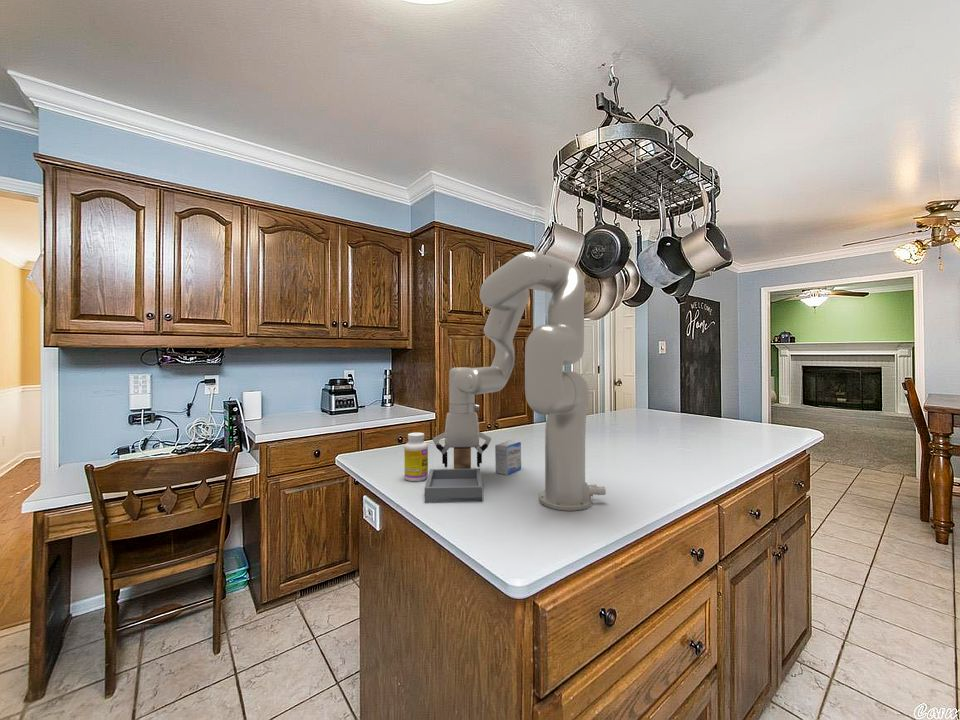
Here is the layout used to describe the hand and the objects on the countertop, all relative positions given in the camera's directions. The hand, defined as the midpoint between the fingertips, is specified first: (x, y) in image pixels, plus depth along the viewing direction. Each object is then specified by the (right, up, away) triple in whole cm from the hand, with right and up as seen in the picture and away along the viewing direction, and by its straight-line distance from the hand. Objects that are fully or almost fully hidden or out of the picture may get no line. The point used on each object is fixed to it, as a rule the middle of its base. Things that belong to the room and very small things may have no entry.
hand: (462, 465), depth 123 cm
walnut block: (0, -2, 0) cm, 2 cm away
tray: (-1, -3, -15) cm, 15 cm away
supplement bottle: (-13, -3, -4) cm, 14 cm away
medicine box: (+14, -2, +2) cm, 14 cm away
